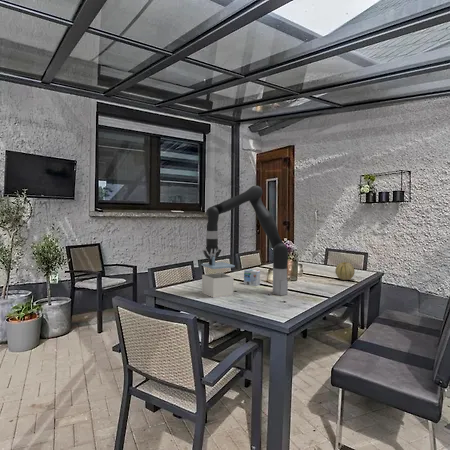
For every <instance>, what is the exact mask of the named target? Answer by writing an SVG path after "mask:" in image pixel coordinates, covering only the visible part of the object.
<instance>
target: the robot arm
mask: <svg viewBox="0 0 450 450" xmlns="http://www.w3.org/2000/svg"><path fill="white" fill-rule="evenodd" d="M263 192H264V191H263V188H262V187H261V186H259V185H252V186H250V187H249V188H248V189H247V190H245V191H244V192H242V193H239V194H238V195H236V196H233V197H230V198H228V199H226V200H224V201H222V202H220V203H218V204H215V205H212V206H209V207H208V208H207V209H206V210H205V211H206V212H205V214H206V217H207V218H208V219H207V223H206V236H205V241H206V242H205V244H206V246H205V249H202V254H203V255H204V256H205V258H206V259H208V263H209V264H210V265H212V256H213V257H215V259H217V258H218V257H219V255H220V254H221V252H222V249H220V248H219V246H218V245H219V231H218V229H219V228H218V227H219V226H218V224H219V216H220V215H221V214H224V213H228V212H229V211H232V210H234V209H236V208H237V207H239V206H241V205H243V204H245V203H247V202H249V203H250V204H251V207H252V208H253V210H254V212H255V215H256V216H257V219H258V222H259V224H260V226H261V228H262V230H263V232H264V233H265V235H266V237H267V238H268V240H269V242H270V245H271V248H272V250H273V251H272V252H273V265H272V294H273V295H275V296H277V295H278V296H285V295H288V292H289V289H288V287H289V286H288V284H289V280H288V277H287V276H288V261H289V250H288V249H289V248H287V246H286V245H285V243H284V242H283V240H282V238H281V235H280V234H279V231H278V227H277V224H276V222H275V219H274V217H273V215H272V214H271V212H270V211H269V210H268V208H267V207H266V206H265V205H264V203H263V200H262V198H261V197H262V196H263Z"/></svg>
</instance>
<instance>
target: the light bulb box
mask: <svg viewBox="0 0 450 450" xmlns="http://www.w3.org/2000/svg"><path fill="white" fill-rule="evenodd" d="M243 285H244V286H245V285H247V286H251V287H258V286H260V285H261V270H259V269H250V268H249V269H248V268H247V269H244V271H243Z"/></svg>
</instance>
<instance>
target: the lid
mask: <svg viewBox="0 0 450 450" xmlns="http://www.w3.org/2000/svg"><path fill="white" fill-rule="evenodd" d="M200 265H201V266H202V267H206V268H207V269H208V268H209V269H212V270H217V269H218V270H219V269H221V270H222V269H231V268H236V267H235V266H236V265H234V264H231V263H227V262H223V261H217V262H216V258H215V257H213V256H212V265H210V264H209V262H206V263H201V264H200Z"/></svg>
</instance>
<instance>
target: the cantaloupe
mask: <svg viewBox="0 0 450 450" xmlns="http://www.w3.org/2000/svg"><path fill="white" fill-rule="evenodd" d="M355 273H356V272H355V267H354V266H353V264H351V263H350V262H345V261H343V262H339V263H338V264H337V266H336V267H335V276H336V277H337V278H338V279H339V280H343V281H349V280H351V279H352V278H353V277H354V276H355Z"/></svg>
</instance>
